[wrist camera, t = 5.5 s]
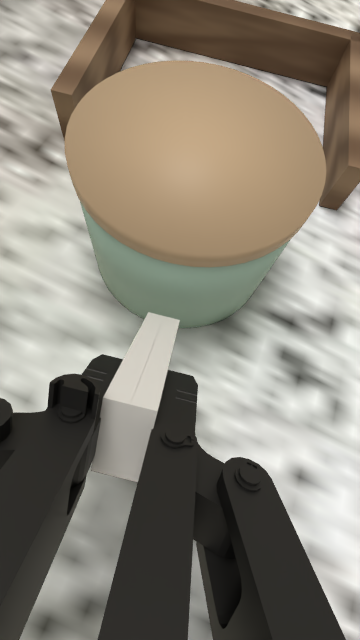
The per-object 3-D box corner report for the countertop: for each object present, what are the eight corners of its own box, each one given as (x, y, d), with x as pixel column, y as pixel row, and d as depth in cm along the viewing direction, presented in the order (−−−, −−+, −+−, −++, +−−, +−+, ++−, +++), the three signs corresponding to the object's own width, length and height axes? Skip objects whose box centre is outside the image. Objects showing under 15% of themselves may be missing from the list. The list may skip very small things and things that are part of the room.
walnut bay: (336, 210, 26) (369, 170, 22) (64, 141, 25) (50, 89, 22) (341, 81, 32) (366, 34, 29) (125, 26, 32) (123, -29, 28)
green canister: (173, 366, 19) (192, 312, 11) (60, 238, 22) (9, 119, 14) (296, 262, 23) (375, 165, 15) (187, 163, 26) (204, 35, 18)
